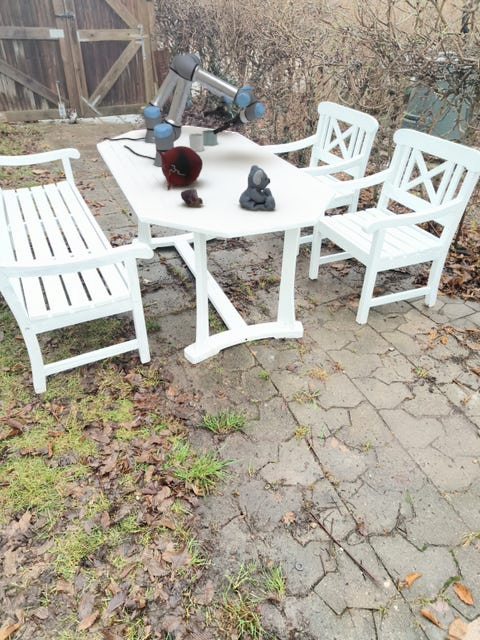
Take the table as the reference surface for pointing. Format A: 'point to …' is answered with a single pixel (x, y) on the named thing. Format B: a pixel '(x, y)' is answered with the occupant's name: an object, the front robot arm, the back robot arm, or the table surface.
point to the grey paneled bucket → (196, 142)
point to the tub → (209, 138)
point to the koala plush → (257, 191)
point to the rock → (191, 197)
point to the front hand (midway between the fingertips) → (219, 128)
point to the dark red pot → (181, 165)
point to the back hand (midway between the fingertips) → (212, 115)
